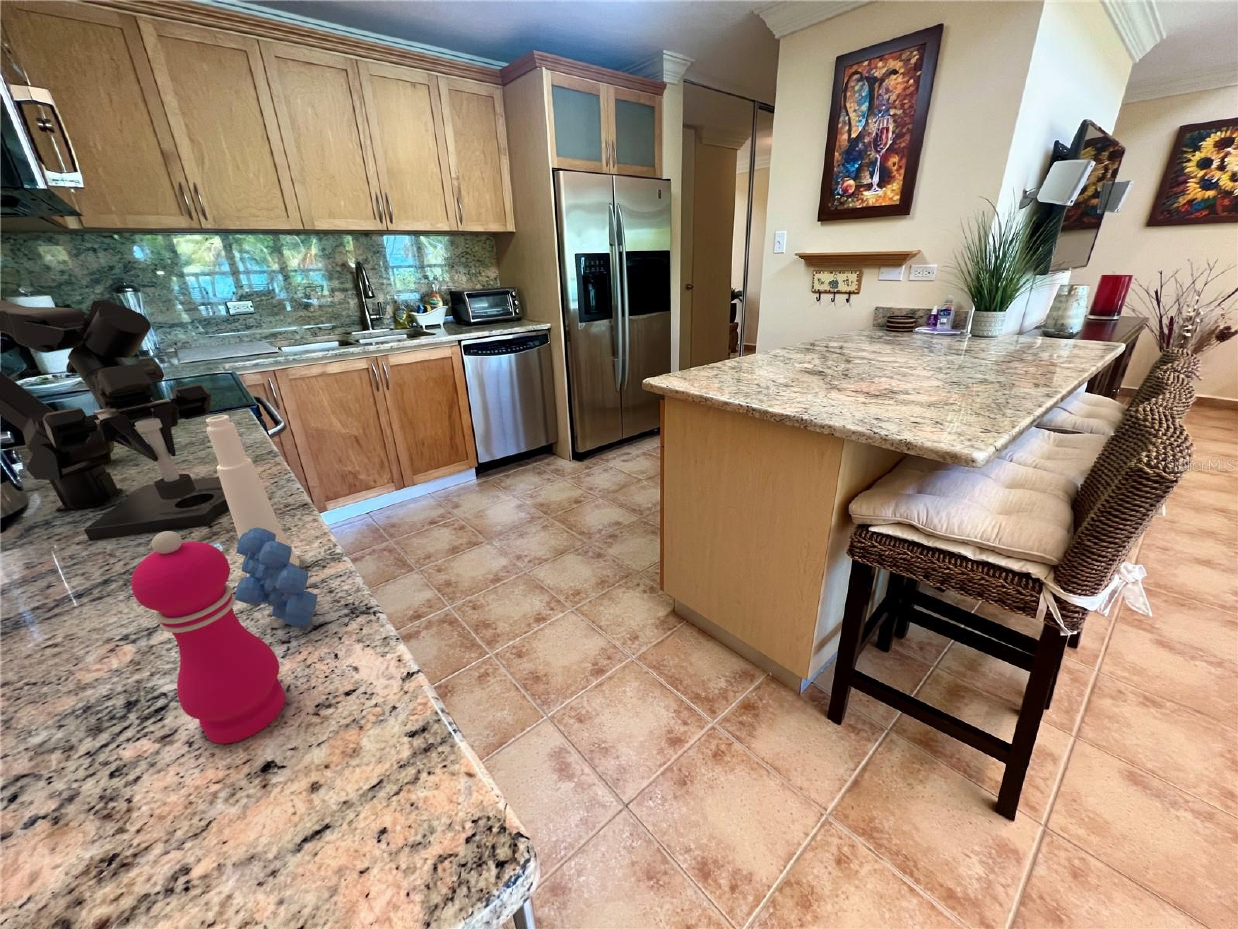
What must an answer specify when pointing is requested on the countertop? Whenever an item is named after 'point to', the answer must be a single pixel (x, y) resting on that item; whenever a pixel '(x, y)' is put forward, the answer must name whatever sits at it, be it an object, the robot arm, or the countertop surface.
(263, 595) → the grapes
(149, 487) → the plate
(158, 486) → the stopper
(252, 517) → the cosmetic bottle
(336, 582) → the countertop surface
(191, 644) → the pepper mill
